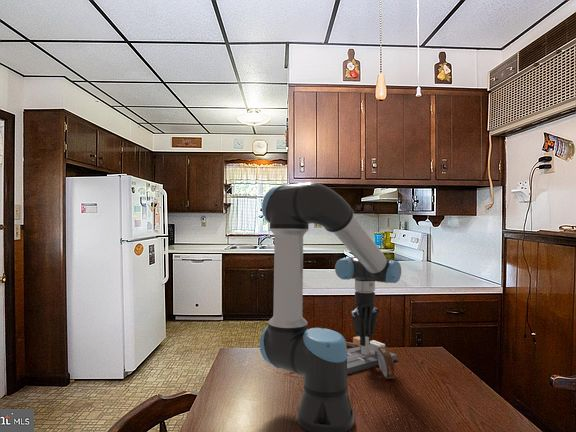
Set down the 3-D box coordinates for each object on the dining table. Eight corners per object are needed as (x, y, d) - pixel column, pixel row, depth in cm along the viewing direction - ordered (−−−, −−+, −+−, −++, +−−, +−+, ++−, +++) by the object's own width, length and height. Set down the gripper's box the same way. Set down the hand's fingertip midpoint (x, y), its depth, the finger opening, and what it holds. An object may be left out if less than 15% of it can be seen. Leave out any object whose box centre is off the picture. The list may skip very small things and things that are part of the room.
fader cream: (378, 357, 142) (378, 345, 142) (367, 352, 147) (366, 341, 148) (385, 355, 144) (385, 344, 144) (373, 351, 149) (373, 339, 149)
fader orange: (363, 352, 148) (363, 341, 148) (352, 348, 153) (352, 337, 153) (370, 351, 150) (370, 339, 150) (359, 346, 155) (359, 335, 155)
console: (336, 377, 130) (336, 369, 130) (311, 363, 143) (311, 356, 143) (396, 359, 146) (396, 353, 146) (368, 349, 159) (368, 342, 159)
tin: (395, 383, 125) (395, 357, 125) (385, 383, 125) (385, 357, 125) (385, 366, 140) (384, 343, 140) (376, 366, 140) (376, 343, 140)
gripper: (358, 294, 137) (359, 360, 136) (384, 291, 144) (384, 353, 143) (345, 291, 143) (345, 354, 142) (370, 288, 150) (370, 348, 149)
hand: (365, 353), depth 143 cm, fingers closed
